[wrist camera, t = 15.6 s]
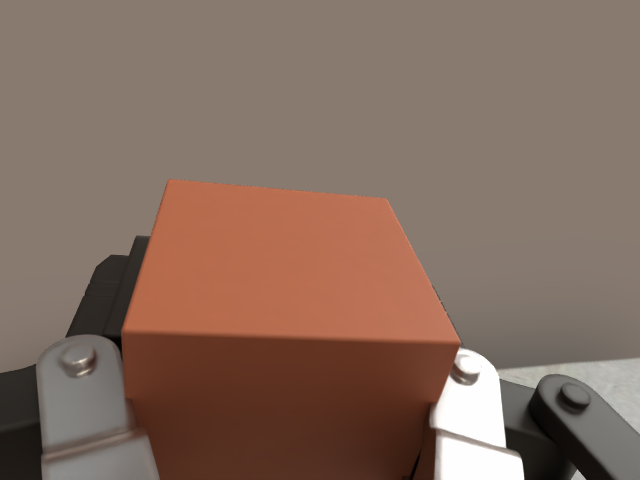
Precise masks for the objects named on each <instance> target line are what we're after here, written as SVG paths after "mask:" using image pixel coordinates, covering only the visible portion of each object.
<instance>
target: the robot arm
mask: <svg viewBox="0 0 640 480" xmlns="http://www.w3.org/2000/svg"><path fill="white" fill-rule="evenodd" d="M149 239H150V236H136V238H135V240H134V243H133V246H132V249H131V251H130V254H129V256H124V255H110V256H109V257H108V258H106V259H105V260H104V261H103V262H101V263H100V264H99V265H98V266H97V267H96V269H95V271H94V273H93V275H92V278H91V280H90V284H88V287H87V289H86V291H85V296H83V298H82V301H81V303H80V305H79V307H78V310H77V312H76V314H75V316H74V319H73V321H72V323H71V325H70V328H69V330H68V332H67V335H66V337H65V339H62V340H60V341H58V342H56V343H54V344H52V345H51V346H49V347H48V348H47V349H46V350H45V351H44V352H43V353H42V354H41V355H40V357H39V358H38V361H37V364H34V365H32V366H29V367H26V368H23V369H19V370H14V371H9V372H4V373H0V480H160V478H159V474H158V470H157V467H156V463H155V459H154V456H153V452H152V449H151V445H150V441H149V438H148V435H147V432H146V429H145V427H144V426H142V427H140V426H139V423H138V420H137V416H136V412H135V408H134V404H133V401H132V398H127V397H125V395H124V377H123V356H122V335H121V330H122V327H123V324H124V321H125V317H126V314H127V311H128V307H129V304H130V301H131V298H132V294H133V291H134V288H135V285H136V281H137V278H138V275H139V272H140V268H141V265H142V262H143V259H144V255H145V252H146V249H147V246H148V242H149ZM432 287H433V286H432ZM433 289H434V287H433ZM434 291H435V289H434ZM435 293H436V291H435ZM436 295H437V297H438V299H439V296H438V294H437V293H436ZM439 300H440V299H439ZM441 304H442V302H441ZM442 306H443V304H442ZM443 308H444V306H443ZM444 310H445V308H444ZM445 312H446V310H445ZM446 314H447V313H446ZM447 316H448V318H449V320H450V322H451V323H452V321H451V319H450V317H449V315H448V314H447ZM452 325H453V323H452ZM453 327H454V325H453ZM454 329H455V327H454ZM455 331H456V329H455ZM456 333H457V331H456ZM457 335H458V337H459V339H460V341H461V345H460V348H459V351H458V353H457V356H456V358H455V361H454V364H453V366H452V369H451V371H450V374H449V377H448V379H447V382H446V384H445V387H444V389H443V392H442V395H441V397H440V400H439V401H438V402H430V405H429V407H428V410H427V413H426V415H425V418H424V422H423V435H422V446H421V449H420V452H419V454H418V457H417V459H416V462H415V464H414V467H413V470H412V472H411V475H409V476H403V477H402V480H571V478H572V477H573V475H574V473H575V472H576V470H577V469H578V470H579V472H580V473H581V474H582V475H583V476H584V477H585V479H586V480H640V434H639V433H638V432H637V431H636V430H635V429H634V428H632V427H631V426H630V425H629V424H628V423H627V422H626V421H625V420H624V419H623V418H622V417H621V416H620V415H619V414H618V413H617V412H616V411H615V410H614V409H613V408H612V407H611V406H610V405H609V404H608V403H607V402H606V401H605V400H604V399H603V398H602V397H601V396H600V395H599V394H598V393H597V392H595V391H594V390H593V389H592V388H591V387H589V386H588V385H586V384H585V383H583V382H581V381H579V380H577V379H575V378H572V377H569V376H566V375H560V374H550V375H546V376H544V377H543V378H542V379H541V380H540V381H539V383H538V385H537V387H536V389H534V388H530V387H526V386H523V385H519V384H515V383H512V382H508V381H505V380H502V379H499V376H498V373H497V371H496V370H495V368H494V367H493V365H491V363H490V362H489V361H488V360H486V359H485V358H484V357H482V356H481V355H479V354H477V353H475V352H473V351H471V350H468V349H466V348H465V346H464V344H463V342H462V340H461V338H460V336H459V334H458V333H457Z"/></svg>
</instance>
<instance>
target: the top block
mask: <svg viewBox="0 0 640 480" xmlns="http://www.w3.org/2000/svg"><path fill="white" fill-rule="evenodd" d="M121 335H122V356H123V377H124V395H125V397H127V398H132V401H133V404H134V408H135V412H136V416H137V420H138V423H139V426H140V427H142V426H144V427H145V429H146V432H147V435H148V438H149V441H150V445H151V449H152V452H153V456H154V459H155V463H156V467H157V470H158V474H159V478H160V480H402V477H403V476H409V475H411V472H412V470H413V467H414V464H415V462H416V459H417V457H418V454H419V452H420V449H421V446H422V435H423V422H424V418H425V415H426V413H427V410H428V407H429V405H430V402H438V401H439V400H440V397H441V395H442V392H443V389H444V387H445V384H446V382H447V379H448V377H449V374H450V371H451V369H452V366H453V364H454V361H455V358H456V356H457V353H458V351H459V348H460V345H461V341H460V339H459V337H458V335H457V333H456V331H455V329H454V327H453V325H452V323H451V322H450V320H449V318H448V316H447V314H446V312H445V310H444V308H443V306H442V304H441V302H440V300H439V299H438V297H437V295H436V293H435V291H434V289H433V287H432V285H431V283H430V281H429V280H428V277H427V275H426V274H425V272H424V270H423V268H422V266H421V264H420V262H419V260H418V258H417V256H416V254H415V252H414V251H413V249H412V247H411V245H410V243H409V241H408V239H407V237H406V235H405V233H404V232H403V229H402V227H401V225H400V224H399V222H398V220H397V218H396V216H395V214H394V212H393V210H392V208H391V206H390V204H389V203H388V201H387V199H385V198H376V197H363V196H354V195H342V194H330V193H319V192H308V191H298V190H286V189H275V188H264V187H253V186H242V185H230V184H219V183H208V182H196V181H185V180H173V179H169V180H168V181H167V184H166V187H165V190H164V194H163V197H162V200H161V203H160V207H159V210H158V213H157V216H156V220H155V223H154V227H153V229H152V233H151V236H150V239H149V242H148V246H147V249H146V252H145V255H144V259H143V262H142V265H141V268H140V272H139V275H138V278H137V281H136V285H135V288H134V291H133V294H132V298H131V301H130V304H129V307H128V311H127V314H126V317H125V321H124V324H123V327H122V330H121Z"/></svg>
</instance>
